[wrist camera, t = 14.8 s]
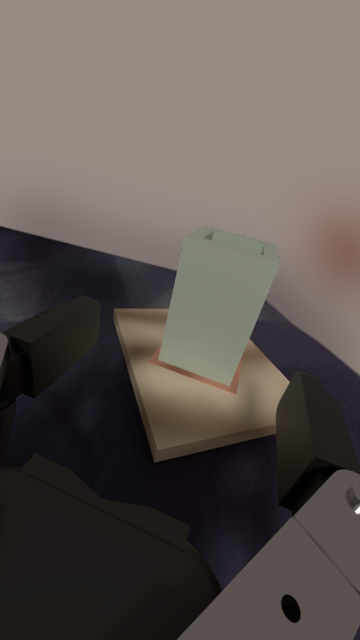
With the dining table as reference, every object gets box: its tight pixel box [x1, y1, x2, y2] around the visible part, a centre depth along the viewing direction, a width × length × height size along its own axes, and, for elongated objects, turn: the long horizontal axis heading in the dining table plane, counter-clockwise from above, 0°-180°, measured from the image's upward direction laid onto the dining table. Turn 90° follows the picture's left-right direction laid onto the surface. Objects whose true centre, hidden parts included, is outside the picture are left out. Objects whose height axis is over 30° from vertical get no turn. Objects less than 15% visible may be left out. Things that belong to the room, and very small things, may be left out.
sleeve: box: [158, 226, 280, 386], centre depth 21 cm, size 6×6×10 cm
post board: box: [113, 309, 290, 463], centre depth 23 cm, size 16×13×6 cm
